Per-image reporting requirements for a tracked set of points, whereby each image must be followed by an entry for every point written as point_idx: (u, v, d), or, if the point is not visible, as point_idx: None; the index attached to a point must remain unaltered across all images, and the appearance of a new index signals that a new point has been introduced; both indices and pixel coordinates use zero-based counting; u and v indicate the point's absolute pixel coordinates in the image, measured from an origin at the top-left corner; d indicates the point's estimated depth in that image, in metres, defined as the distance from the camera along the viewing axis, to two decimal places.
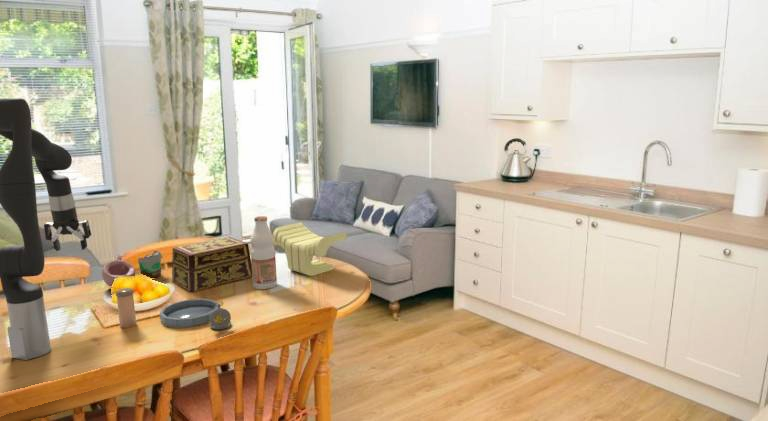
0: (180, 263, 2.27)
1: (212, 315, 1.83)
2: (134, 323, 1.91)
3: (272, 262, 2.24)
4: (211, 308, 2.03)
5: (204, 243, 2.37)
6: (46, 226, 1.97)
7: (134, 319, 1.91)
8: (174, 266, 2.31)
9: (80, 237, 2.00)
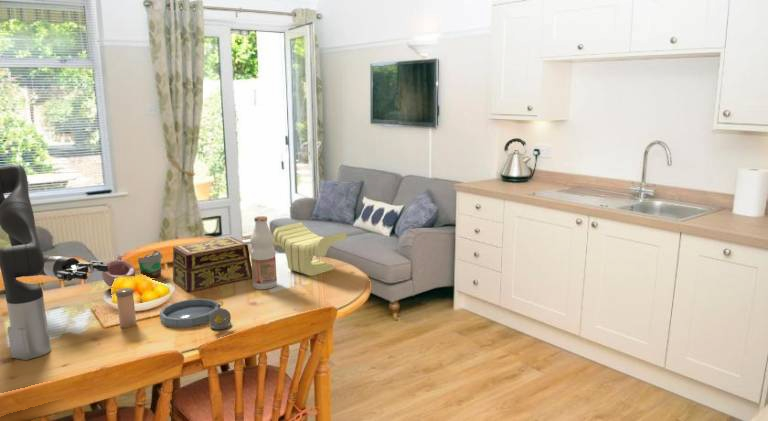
0: (179, 262, 2.28)
1: (212, 315, 1.83)
2: (134, 323, 1.91)
3: (272, 262, 2.24)
4: (211, 308, 2.03)
5: (205, 243, 2.37)
6: (60, 271, 1.90)
7: (134, 319, 1.91)
8: (174, 265, 2.32)
9: (96, 263, 1.97)
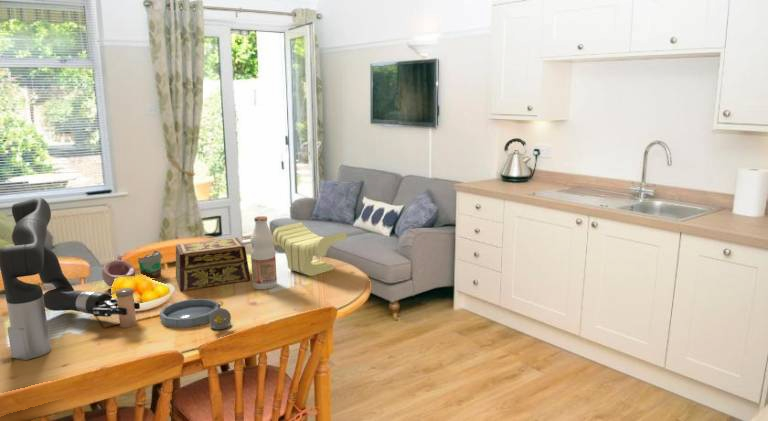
0: (177, 261, 2.30)
1: (212, 315, 1.83)
2: (134, 323, 1.91)
3: (272, 262, 2.24)
4: (211, 308, 2.03)
5: (207, 242, 2.38)
6: (96, 308, 1.87)
7: (134, 319, 1.91)
8: (176, 263, 2.35)
9: None
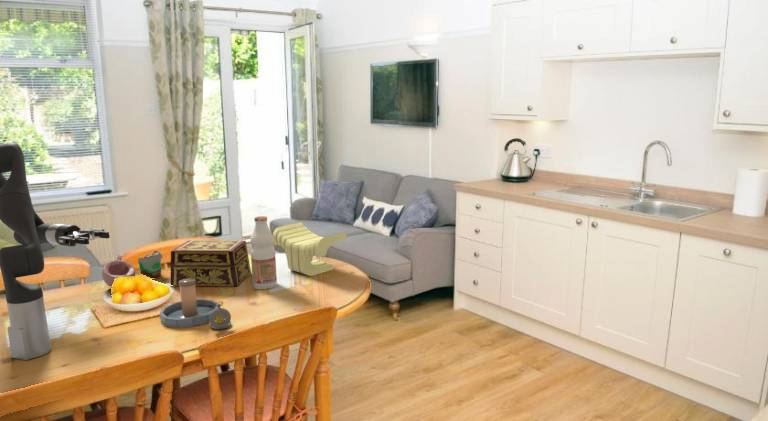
0: None
1: (212, 315, 1.83)
2: (196, 312, 1.97)
3: (272, 262, 2.24)
4: (211, 308, 2.03)
5: (212, 242, 2.39)
6: (62, 236, 1.92)
7: (196, 308, 1.97)
8: None
9: (97, 230, 1.99)
